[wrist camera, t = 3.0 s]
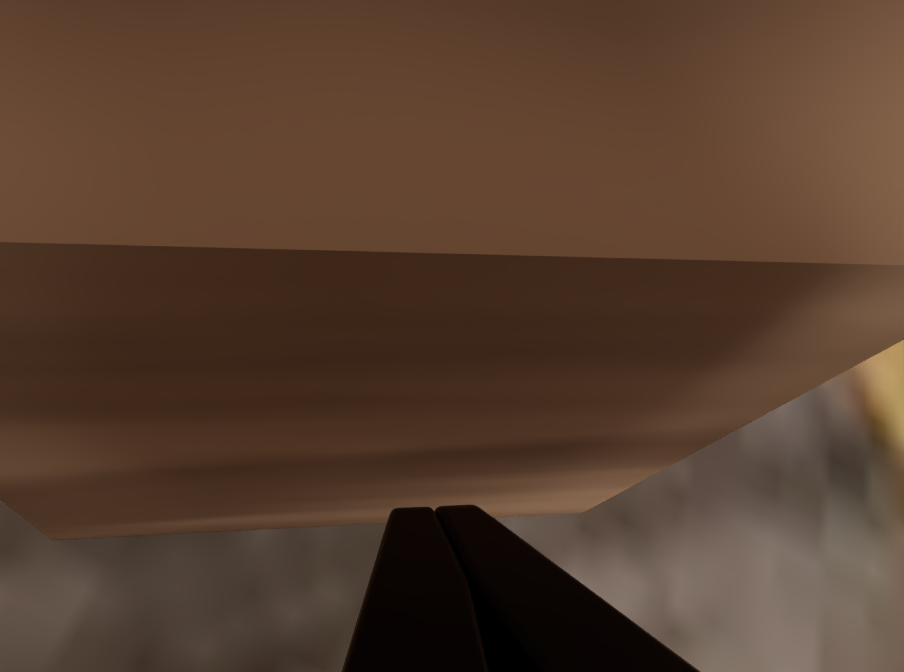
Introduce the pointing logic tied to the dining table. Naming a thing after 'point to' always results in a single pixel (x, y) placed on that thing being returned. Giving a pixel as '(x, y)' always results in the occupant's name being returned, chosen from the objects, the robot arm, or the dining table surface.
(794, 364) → the walnut block
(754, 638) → the dining table surface
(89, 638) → the dining table surface
